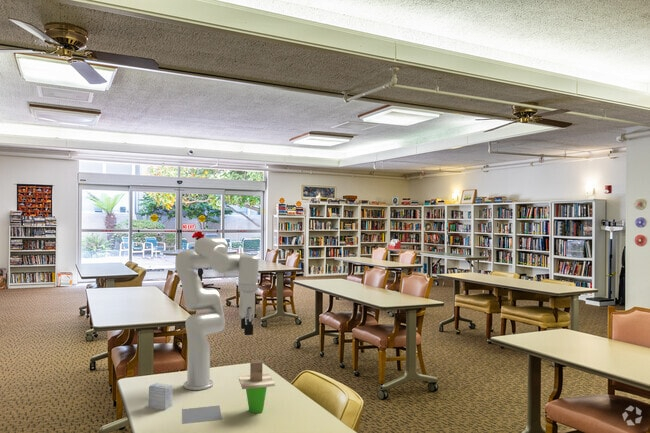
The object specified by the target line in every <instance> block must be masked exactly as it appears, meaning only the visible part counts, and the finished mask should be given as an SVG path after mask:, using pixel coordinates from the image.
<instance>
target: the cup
mask: <svg viewBox="0 0 650 433" xmlns="http://www.w3.org/2000/svg"><path fill="white" fill-rule="evenodd" d="M267 388H268V387H261V388H250V389H245V391H246V392H245V393H246V401H247V407H248V411H249V413H252V414H261V413H263V411H264V406H265V400H266V395H267Z"/></svg>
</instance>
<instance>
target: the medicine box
mask: <svg viewBox="0 0 650 433" xmlns="http://www.w3.org/2000/svg"><path fill="white" fill-rule="evenodd" d="M171 407H173V385H172V384H169V383H168V384H167V383H160V382H155V383H152V384H151V385H149V386H148V408H149V409H150V408H151V409H157V410H163V411H167V410H168V409H170V408H171Z"/></svg>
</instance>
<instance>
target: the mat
mask: <svg viewBox="0 0 650 433" xmlns="http://www.w3.org/2000/svg"><path fill="white" fill-rule="evenodd" d="M221 410H222V409H221V407H220V405H211V406H210V405H209V406H203V407H202V406H200V407H193V408H192V407H191V408H182V410H181V422H182V423H181V424H182V425H184V424H194V423H204V422H212V421H214V422H215V421H222V420H223V415H222V411H221Z"/></svg>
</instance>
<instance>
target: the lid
mask: <svg viewBox="0 0 650 433" xmlns="http://www.w3.org/2000/svg"><path fill="white" fill-rule="evenodd" d="M249 364H250V370H249V371H250V375H242V376H241V375H240V376H238V381H239V384H240V387H241V389H242V390H246V389H250V388H261V387H267V388H269V387H271V388H272V387H275V386H276V384H275V381H274V380H273V378H272V377H271V374H270V373H267V374H266V373H263V361H262V360H261V359H254V360H253V359H252V360H250V363H249Z"/></svg>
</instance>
